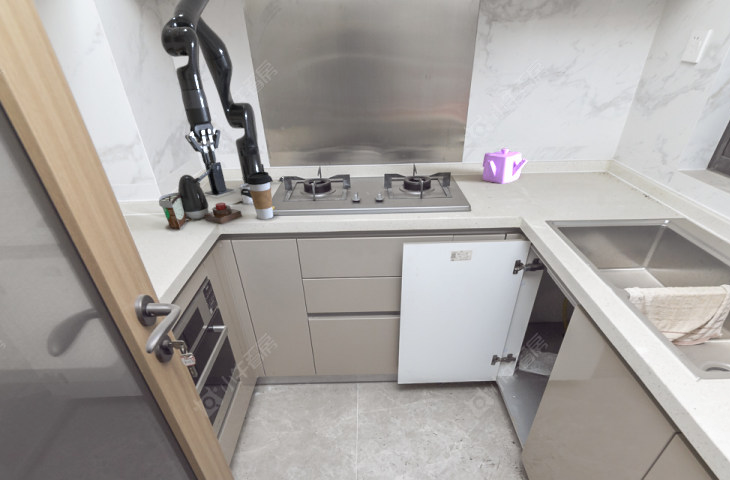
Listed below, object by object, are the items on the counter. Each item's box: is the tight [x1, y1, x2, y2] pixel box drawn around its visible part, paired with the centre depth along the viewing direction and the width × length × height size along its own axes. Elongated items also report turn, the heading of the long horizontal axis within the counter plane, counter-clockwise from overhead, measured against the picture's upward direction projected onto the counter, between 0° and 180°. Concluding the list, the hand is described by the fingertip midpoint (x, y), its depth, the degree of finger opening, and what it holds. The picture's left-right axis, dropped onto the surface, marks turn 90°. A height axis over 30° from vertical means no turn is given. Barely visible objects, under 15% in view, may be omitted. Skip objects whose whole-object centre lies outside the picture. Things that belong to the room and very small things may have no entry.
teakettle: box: [482, 148, 528, 184], centre depth 187 cm, size 17×17×12 cm
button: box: [214, 202, 227, 209], centre depth 157 cm, size 4×4×2 cm
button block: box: [204, 204, 243, 225], centre depth 159 cm, size 10×9×4 cm
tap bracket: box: [204, 161, 235, 197], centre depth 184 cm, size 10×8×13 cm
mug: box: [238, 183, 254, 206], centre depth 174 cm, size 10×7×7 cm, turn 87°
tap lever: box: [198, 163, 213, 186], centre depth 179 cm, size 14×5×2 cm, turn 147°
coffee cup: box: [247, 171, 274, 220], centre depth 155 cm, size 8×8×15 cm
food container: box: [158, 191, 189, 230], centre depth 153 cm, size 12×6×10 cm, turn 3°
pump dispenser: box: [177, 174, 209, 220], centre depth 158 cm, size 10×10×15 cm
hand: (210, 163), depth 148 cm, fingers closed
